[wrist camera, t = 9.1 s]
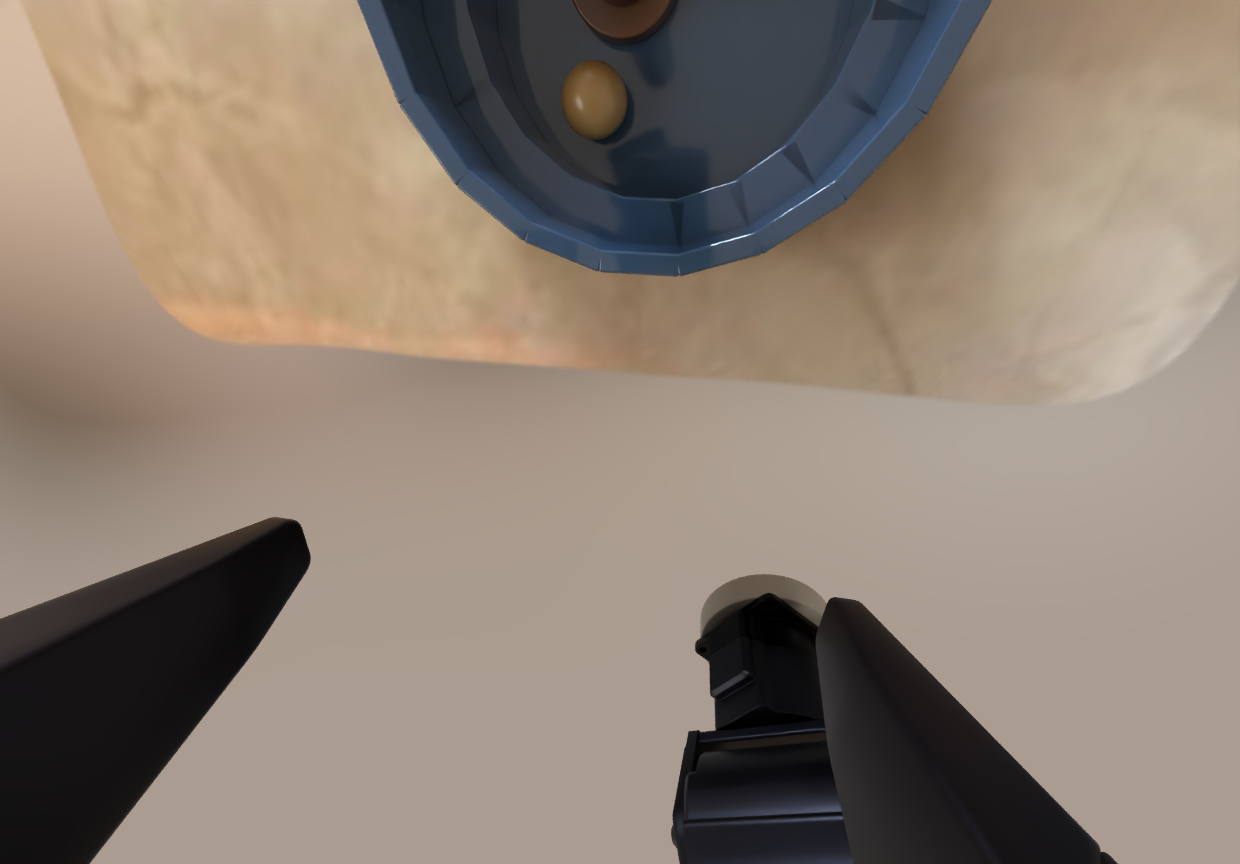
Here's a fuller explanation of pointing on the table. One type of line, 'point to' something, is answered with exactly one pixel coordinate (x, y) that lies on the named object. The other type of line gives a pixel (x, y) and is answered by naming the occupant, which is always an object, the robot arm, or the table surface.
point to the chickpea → (594, 99)
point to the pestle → (624, 18)
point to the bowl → (669, 116)
